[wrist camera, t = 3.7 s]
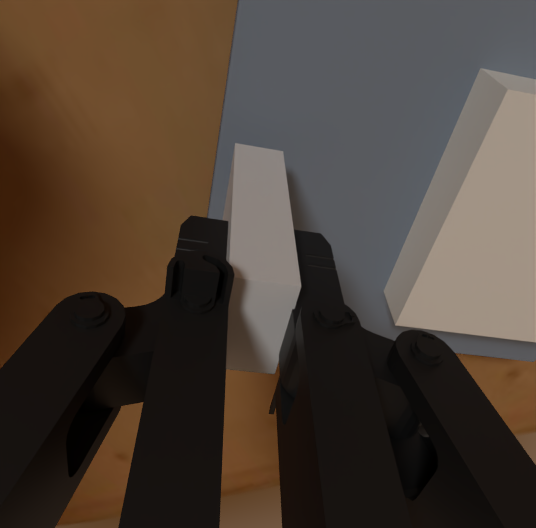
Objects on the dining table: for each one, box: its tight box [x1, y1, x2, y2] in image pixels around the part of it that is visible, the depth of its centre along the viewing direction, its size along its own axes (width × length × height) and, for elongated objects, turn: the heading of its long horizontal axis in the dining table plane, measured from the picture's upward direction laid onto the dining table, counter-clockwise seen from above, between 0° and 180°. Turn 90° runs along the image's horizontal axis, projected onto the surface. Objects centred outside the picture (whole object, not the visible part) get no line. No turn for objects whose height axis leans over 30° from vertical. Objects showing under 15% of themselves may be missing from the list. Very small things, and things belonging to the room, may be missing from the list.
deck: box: [207, 0, 536, 362], centre depth 19 cm, size 16×15×3 cm
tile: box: [384, 68, 536, 342], centre depth 17 cm, size 7×9×2 cm
